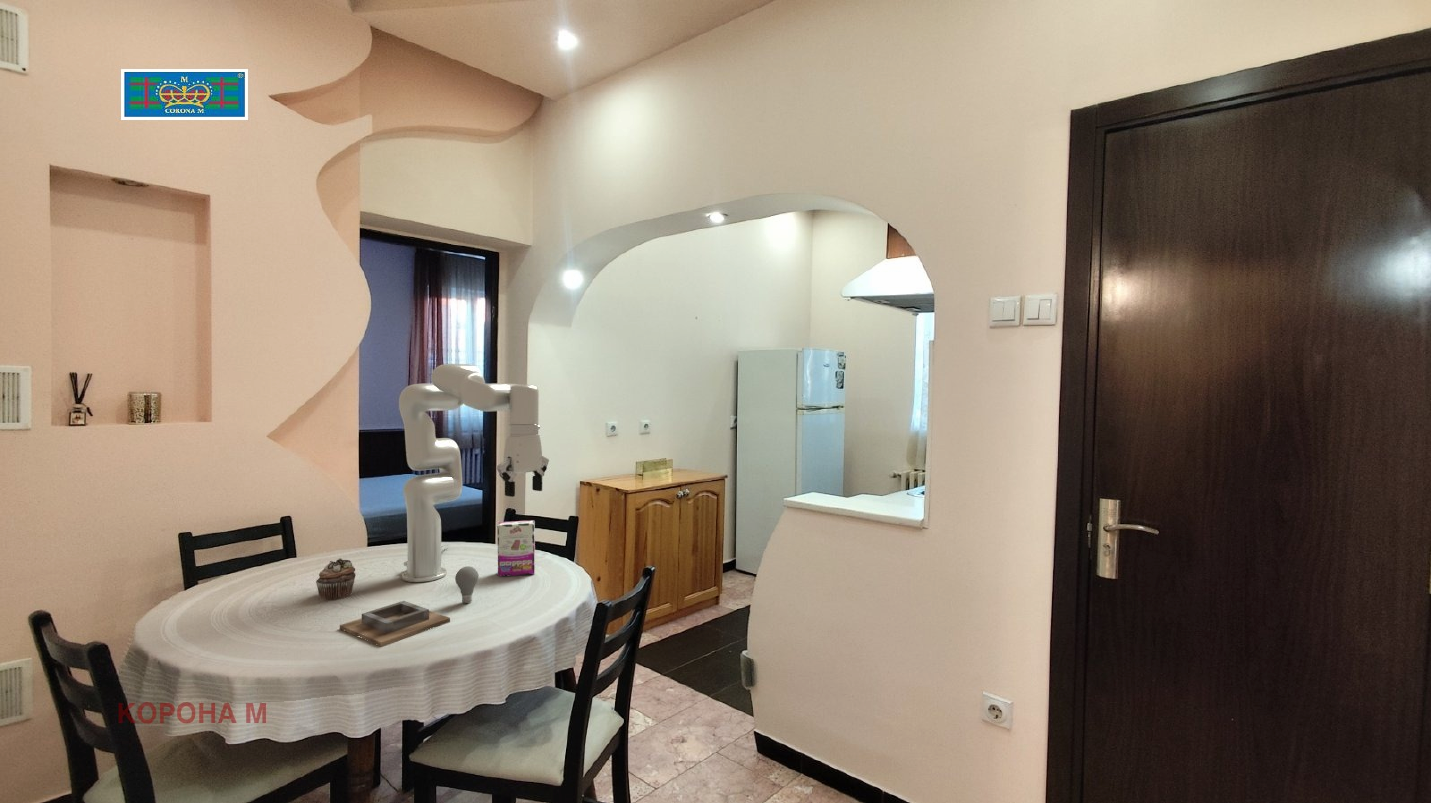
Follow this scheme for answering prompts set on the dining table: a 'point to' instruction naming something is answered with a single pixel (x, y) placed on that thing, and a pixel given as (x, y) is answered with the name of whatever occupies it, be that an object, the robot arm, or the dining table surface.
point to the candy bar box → (516, 548)
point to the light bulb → (466, 582)
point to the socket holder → (394, 623)
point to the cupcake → (336, 580)
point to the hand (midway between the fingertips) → (523, 493)
